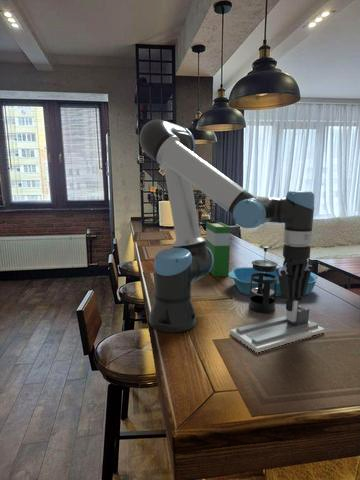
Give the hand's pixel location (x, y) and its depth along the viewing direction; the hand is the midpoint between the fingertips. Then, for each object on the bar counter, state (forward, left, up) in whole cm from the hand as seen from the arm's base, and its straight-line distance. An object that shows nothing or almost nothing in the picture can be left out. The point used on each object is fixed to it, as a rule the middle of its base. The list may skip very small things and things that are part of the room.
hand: (291, 319), depth 97 cm
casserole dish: (+22, +32, -4) cm, 39 cm away
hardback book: (+16, +65, -4) cm, 67 cm away
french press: (+4, +17, -4) cm, 18 cm away
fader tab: (+3, 0, -2) cm, 3 cm away
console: (-5, 0, -4) cm, 6 cm away
